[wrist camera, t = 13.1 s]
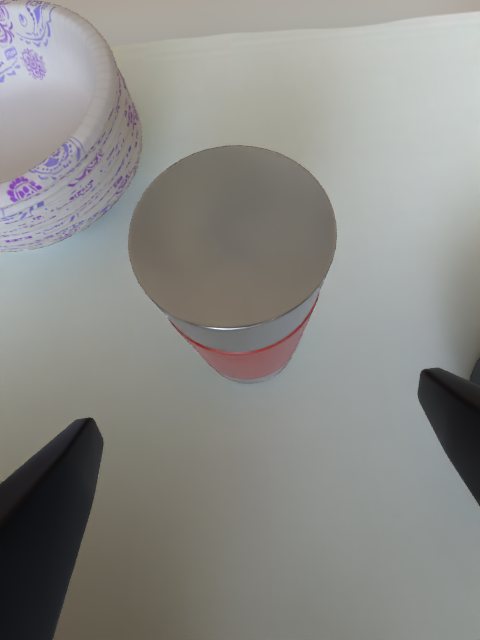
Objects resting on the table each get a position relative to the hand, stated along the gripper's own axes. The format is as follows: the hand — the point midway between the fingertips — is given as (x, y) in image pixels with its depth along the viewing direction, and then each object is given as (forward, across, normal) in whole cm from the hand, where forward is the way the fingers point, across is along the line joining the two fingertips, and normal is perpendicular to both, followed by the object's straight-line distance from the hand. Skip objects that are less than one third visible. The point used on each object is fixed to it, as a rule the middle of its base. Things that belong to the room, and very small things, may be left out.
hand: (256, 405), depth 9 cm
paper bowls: (+22, +13, -5) cm, 26 cm away
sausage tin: (+12, 0, +5) cm, 12 cm away
